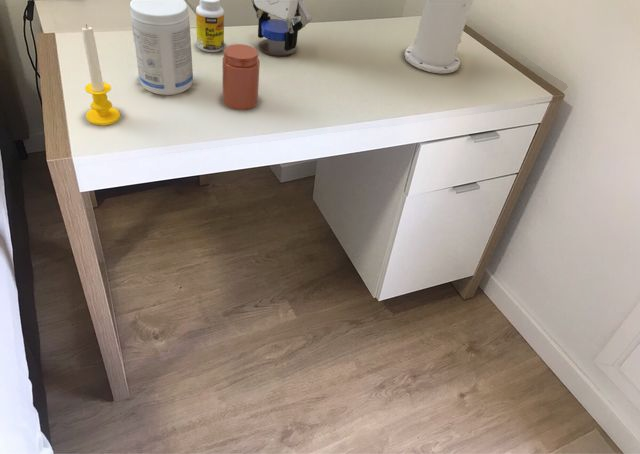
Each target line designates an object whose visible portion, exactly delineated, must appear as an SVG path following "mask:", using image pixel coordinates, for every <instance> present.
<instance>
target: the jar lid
mask: <svg viewBox="0 0 640 454" xmlns="http://www.w3.org/2000/svg"><path fill="white" fill-rule="evenodd" d="M286 32H288V27H287V23H286V20H283V19H280V18H270V19H269V20H265V21H263V22H262V25H261V34H262V35H263V36H264V37H263V38H264V39H269V40H273V41H285V36H286Z"/></svg>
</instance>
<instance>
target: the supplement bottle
mask: <svg viewBox="0 0 640 454" xmlns="http://www.w3.org/2000/svg"><path fill="white" fill-rule="evenodd" d="M195 8H196V9H195V20H196V21H195V22H196V24H195V25H196V27H195V28H196V46H197V48H198V49H200V50H201V51H203V52H207V53H217V52H220V51H222V50H223V49H224V48H225V47H224V46H225V10H224V8H223V7H222V6H221V0H199V4H198V5H197V6H196V7H195Z"/></svg>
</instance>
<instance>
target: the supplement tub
mask: <svg viewBox="0 0 640 454" xmlns="http://www.w3.org/2000/svg"><path fill="white" fill-rule="evenodd" d="M129 8H130V11H129V13H130V21H131V22H130V23H131V29H132V35H133V36H132V37H133V43H134V49H135V56H136V57H135V58H136V64H137V65H136V66H137V70H138V78H139V82H140V85H141V86H142V87H143V89H145V90H147V92H150V93H153V94H156V95H163V96H164V95H165V96H172V95H177V94H180V93H183V92H185V91H187V90H188V89H190V88H191V87H192V85H193V83H194V72H193V71H194V69H193V53H192V38H191V26H190V25H191V24H190V22H191V21H190V15H189V14H190V12H189V7H188V4H187V2H186V1H185V0H131V1H130V2H129Z"/></svg>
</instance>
